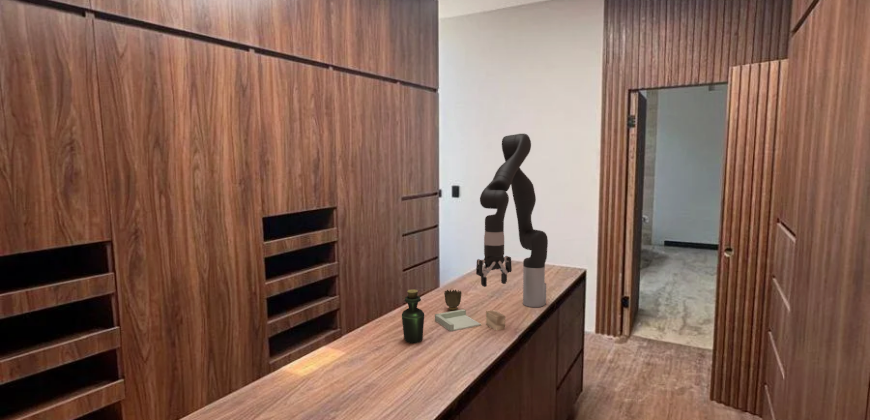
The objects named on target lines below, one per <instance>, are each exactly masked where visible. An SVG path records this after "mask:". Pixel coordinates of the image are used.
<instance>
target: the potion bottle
mask: <svg viewBox="0 0 870 420" xmlns="http://www.w3.org/2000/svg"><path fill="white" fill-rule="evenodd" d="M406 292H407V296H405V298H404V303H407V305H408V308H406V309H404V310H403V311H402V313H401V323H402V330H403V340H404V341H405V343H408V344H418V343H420V342H422V340H423V337H424V326H425V323H424V322H425V312H424V310H422V309H421V308H419V307H418V304H419V303H420V302H421V301H422V299H421V296H420V295H418V294H419V293H418V292H419V291H418V289H408V290H407V291H406Z"/></svg>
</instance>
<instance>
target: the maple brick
mask: <svg viewBox="0 0 870 420" xmlns="http://www.w3.org/2000/svg"><path fill="white" fill-rule="evenodd" d="M485 326H487V327H489V328H490V329H493V330H494V331H495V330H496V331H495V332H498V331H497V330H499V331H503V330H505V329H506V315H505V314H503V313H502V312H500V311H498V310H496V309H493V310H488V311H486V312H485ZM502 329H503V330H502Z"/></svg>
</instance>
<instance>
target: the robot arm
mask: <svg viewBox="0 0 870 420" xmlns="http://www.w3.org/2000/svg"><path fill="white" fill-rule="evenodd" d="M531 148H532V141H531V138H530V136H529V135H528V134H527V133H516V134H509V135H505V136H503V138H502V139H501V149H502V150H501V151H502V155H503V157H504V161H505V162H503V163H502V164H501V165H500V166H499V167H498V168H497V170H496V172H495V175H494V176H493V179H492V180H491V181H490V182H489V183H488V184H487V185H486V187H485V188H483V190H482V192H481V194H480V195H479V196H480V197H479V203H480V206H481V207H482V208H484V209H490V210H491V209H492V210H496V212H495V213H493V214H489V215H486V216H485V218H484V235H483V238H484V239H483V254H484V258H483V259H479V258H478V259H476V268H475V269H476V270H475V274H476V276H479V277H480V284H481V285H482V287H484V288H486V287H487V286H488V285H487V283H488V282H487V278H488V277H487V276H488V274H489V273H491V271H495V270H499V271H500V272H501V275H500V277H501V279H500V282H501V284H503V285H505V284H507V281H508V274H509V273H512V272H513V269H512V257H510V256H508V255H505V231H504V227H505V226H504V225H505V215H506V212H507V208H508V205H509V200H510V199H509V198H510V197H509V194H508V191H509V189H510V188H511V192H512V193H511V194H512V196H513V197H512V198H513V202H514V207H515V212H516V218H517V228H518V239H519V244H520V246H521V247H522V248H523V249H525V250H528V251H530V255H529V257H526V258H524V259H523V263H522V264H523V265H522V266H523V267H522V268H523V269H522V272H523V274H522V275H523V276H522V283H523V284H522V304H523V306H525V307H528V308H541V307H543V306H545V305H547V283H546V282H545V281H546V279H545V278H546V276H545V275H546V273H545V271H546V270H545V269H546V261H547V259H548V246H549V244H548V242H549V241H548V235H547V233H546V232H545V231H543V230H540V229H534V227H533V221H532V214H533V211H534V208H535V205H536V199H537V198H536V193H535V191H536V190H535V187H534V183H533V182H532V180H531V179H530V178H529V177H528V176H527V175H526V174H525V172H524V171H523V170H522V169H521V168H520V167H521V166H522V164H523V163H524V162H525V160H526V158H527V157H528V156H529V154H530V152H531ZM504 255H505V256H504ZM504 265H505V266H504Z"/></svg>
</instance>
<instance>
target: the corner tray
mask: <svg viewBox="0 0 870 420" xmlns="http://www.w3.org/2000/svg"><path fill="white" fill-rule="evenodd" d="M434 321H435V322H437V323H438V324H439V325H441V326H442V327H444V328H445V329H446V330H448V331H449V332H454V331H459V330H463V329H470V328H475V327H479V326H482V323H481V322H478V321H477V320H475V319H473V318H471V317H470V316H468V315H467V310H466V309H463V308H462V309H457V310H456V311H451V310H450V311H446V312H441V313H434Z"/></svg>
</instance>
